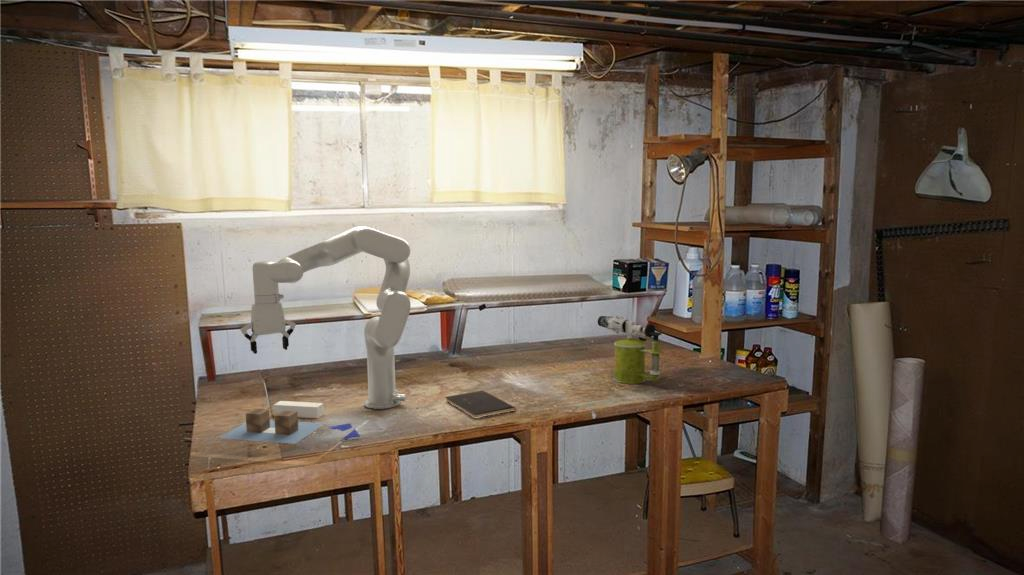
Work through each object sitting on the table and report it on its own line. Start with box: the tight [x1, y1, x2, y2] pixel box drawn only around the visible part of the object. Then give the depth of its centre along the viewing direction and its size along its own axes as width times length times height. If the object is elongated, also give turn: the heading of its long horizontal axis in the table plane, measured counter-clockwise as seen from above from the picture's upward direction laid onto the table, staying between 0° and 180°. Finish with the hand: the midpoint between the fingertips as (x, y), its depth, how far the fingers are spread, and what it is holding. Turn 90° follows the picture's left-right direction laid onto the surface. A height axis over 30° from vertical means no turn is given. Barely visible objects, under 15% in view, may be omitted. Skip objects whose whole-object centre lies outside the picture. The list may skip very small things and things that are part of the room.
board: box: [218, 419, 325, 445], centre depth 214 cm, size 26×18×1 cm
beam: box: [272, 400, 325, 419], centre depth 230 cm, size 16×4×5 cm, turn 79°
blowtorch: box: [597, 315, 664, 385], centre depth 270 cm, size 13×33×25 cm, turn 36°
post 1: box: [245, 408, 271, 433], centre depth 215 cm, size 5×5×6 cm
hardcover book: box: [445, 390, 516, 417], centre depth 240 cm, size 16×23×2 cm
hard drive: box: [328, 423, 361, 443], centre depth 214 cm, size 2×8×12 cm
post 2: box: [273, 410, 299, 435], centre depth 213 cm, size 5×5×6 cm
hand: (270, 350), depth 223 cm, fingers open, 9 cm apart
